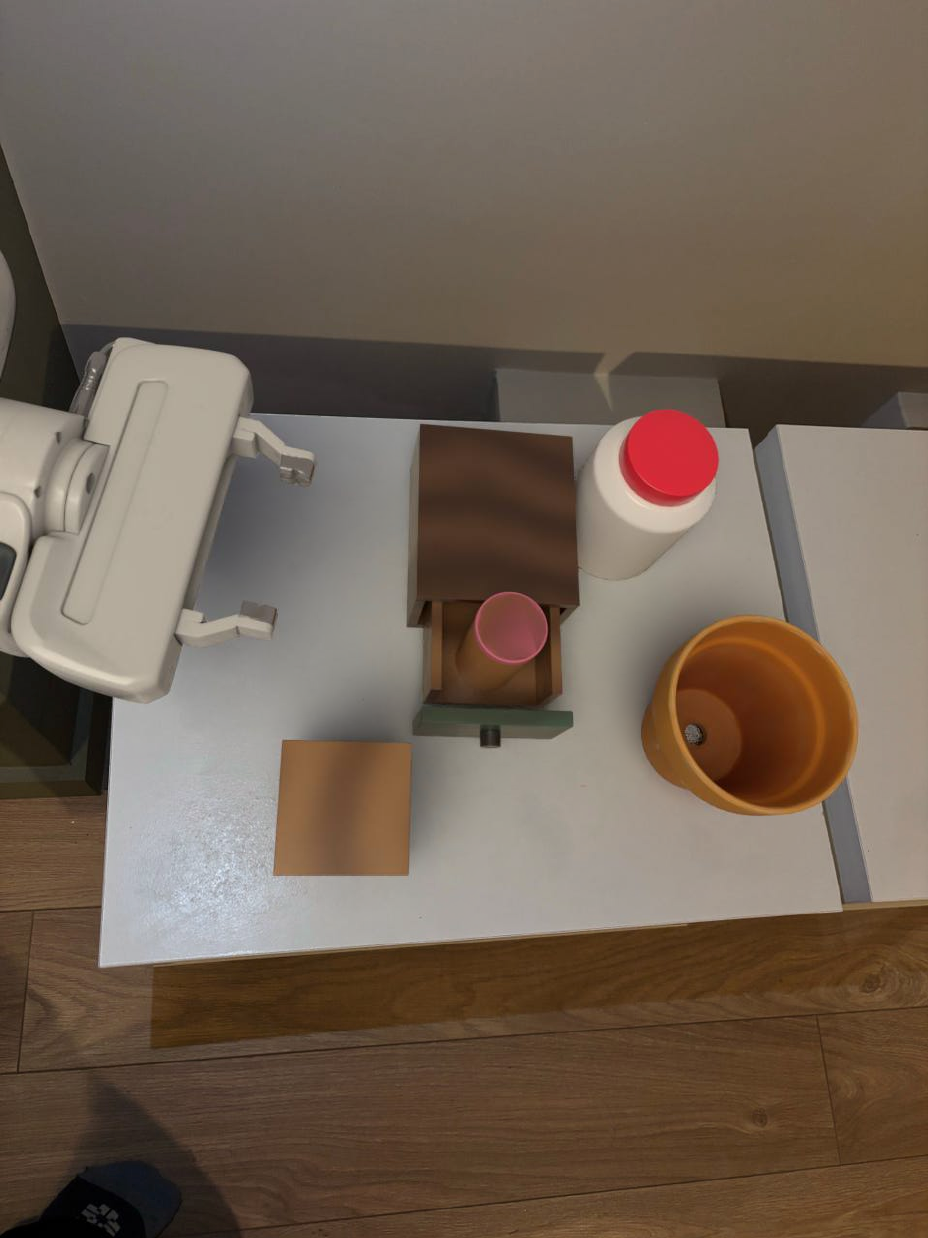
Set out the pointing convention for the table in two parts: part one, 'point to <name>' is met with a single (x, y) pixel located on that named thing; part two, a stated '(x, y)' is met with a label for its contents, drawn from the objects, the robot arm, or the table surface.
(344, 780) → the stand
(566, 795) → the table surface
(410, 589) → the cabinet
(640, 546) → the pill bottle
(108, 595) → the robot arm
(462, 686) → the drawer
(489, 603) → the pink-rimmed cylinder
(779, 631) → the flower pot
